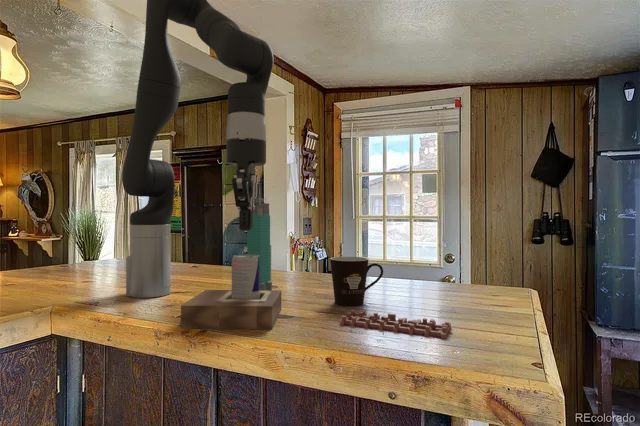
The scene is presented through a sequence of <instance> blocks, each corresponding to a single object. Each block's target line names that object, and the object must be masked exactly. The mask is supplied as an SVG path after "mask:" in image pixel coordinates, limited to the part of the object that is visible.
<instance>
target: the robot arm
mask: <svg viewBox="0 0 640 426" xmlns="http://www.w3.org/2000/svg"><path fill="white" fill-rule="evenodd" d="M145 11H146V12H145V34H144V43H143V44H144V45H143V51H142V60H141V65H140V69H139V75H138V82H137V89H136V90H137V91H136V99H135V100H136V101H135V109H134V115H133V123H132V128H131V132H130V138H129V141H128V146H127V150H126V154H125V157H124V162H123V167H122V168H123V169H122V173H121V179H122V180H121V183H122V187H123V190H124V192H125V193H126V194H127V195H129V196H132V197H143V198H144V197H146V198H148V201H147V204H146V205H145V206H143V207H142V208H140V209H138V210H134V211H133V212H132V213H130V217H129V255H127V256H126V258H125V275H126V276H125V284H126V285H125V289H126V290H125V296H126V297H132V298H141V299H142V298H143V299H145V298H146V299H147V298H156V297H157V298H158V297H163V296H168V295H169V294H171V268H172V267H171V264H172V263H171V255H172V254H171V249H172V248H171V241H172V240H171V232H172V231H171V228H172V227H171V226H172V225H171V223H172V221H171V220H172V219H171V218H172V215H173V212H174V203H175V201H174V200H175V189H176V188H175V183H176V181H175V179H176V177H175V172H174V169H173V167H172V165H171V164H170V163H169V162H168V161H165V160H162V159H161V160H159V159H152V158H151V153H152V150H153V146H154V143H155V141H156V138H157V137H158V136H159V134H160V132H161V131H163V129H164V127H165V126H166V125H167V124H168V123H169V121H170V120H171V119H172V118H173V117H174V115H175V113H176V111H177V110H178V106H179V101H180V94H181V87H182V79H181V74H180V71H179V68H178V64H177V63H176V59H175V57H174V54H173V52H172V49H171V46H170V42H169V36H168V20H169V21H171V22H174V23H176V24H179V25H183V26H187V27H190V28H192V29H194V30H195V31H196V34H197V36H198V37H199V38H200V40H201V41H202V42H203V43H204V44H205V45H206V46H207V47H209V48H210V49H212V50H213V52H214V54H215V56H216V58H217V60H218V61H219V62H220V63H221V64H222V65H224V66H225V67H227V68H228V69H231V70H233V71H235V72H236V71H237V72H238V73H243V74H246V81H242V82H241V81H240V82H235V83H233V84H231V85H230V86H229V89H228V92H227V121H226V131H225V132H226V133H225V135H226V138H225V139H226V140H225V141H226V143H225V144H226V148H225V149H226V158H225V161H226V164H228V165H231V166H236V172H235V173H234V174H233V177H232V180H231V183H232V188H233V189H232V190H233V194H234V195H233V196H234V202H235V207H236V208H237V210H238V211H239V212H238V213H239V214H238V216H239V218H238V219H239V221H238V225H239V226H238V227H239V228H238V229H239V230H240V231H247V230H252V229H253V211H252V210H254V209H255V207H256V203H257V202H258V201H257V200H258V194H259V193H258V192H259V187H260V183H259V174H256V167H260V166H264V165H266V163H267V124H266V94H267V90H268V87H269V84H270V83H269V82H270V78H271V74H272V72H273V68H274V62H275V61H274V60H275V59H274V57H275V56H274V53H273V49H272V47H271V45H270V44H269V43H268V42H267V41H266V40H263V39H262V38H259V37H256V36H253V35H252V34H250V33H247V32H245V31H242V29H241V27H240V26H239V25H238V23H236V22H235V21H233V20H232V19H231V18H229V17H228V16H226V15H225V14H224V13H222V12H221V11H219V10H217V9H216V8H214V7H213V6H212V5H211V4H210V2H208V1H207V0H146V10H145Z"/></svg>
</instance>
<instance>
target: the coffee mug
mask: <svg viewBox="0 0 640 426" xmlns="http://www.w3.org/2000/svg"><path fill="white" fill-rule="evenodd" d="M329 262H330V271H331V278H332V290H333V297H334V304H335V305H337V306H341V307H349V308H350V307H360V306H363V305H364V303H365V301H364V300H365V292H366V291H367V290H368V289H370V288H372V287H373V286H374V285H375V284H376V283H378V281H380V280H381V278H382V277H383V274H384V268H383V266H382V265H381V264H379V263H371V264H369V258H368V257H361V256H334V257H330V261H329ZM372 267H378V268H379V270H380V273H379V276H378V277H377V278H376V279H375V280H374V281H373V282H371V283H370V284H368V285H367V275H368V273H369V270H370V269H371V268H372ZM366 285H367V286H366Z"/></svg>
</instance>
